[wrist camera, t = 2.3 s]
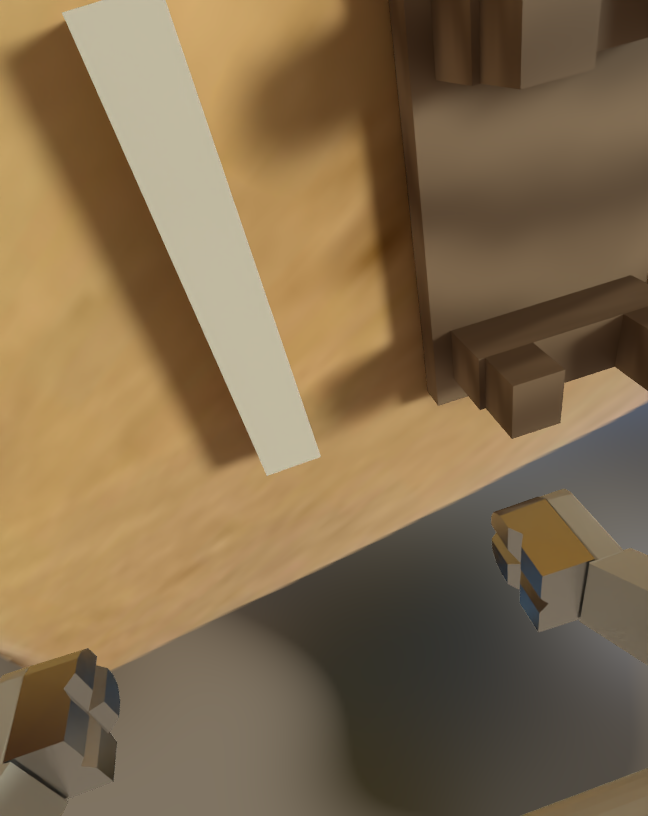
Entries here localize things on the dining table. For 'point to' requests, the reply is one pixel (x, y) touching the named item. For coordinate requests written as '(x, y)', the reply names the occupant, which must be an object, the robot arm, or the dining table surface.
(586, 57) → the rack
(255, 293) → the clay strip
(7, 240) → the dining table surface
